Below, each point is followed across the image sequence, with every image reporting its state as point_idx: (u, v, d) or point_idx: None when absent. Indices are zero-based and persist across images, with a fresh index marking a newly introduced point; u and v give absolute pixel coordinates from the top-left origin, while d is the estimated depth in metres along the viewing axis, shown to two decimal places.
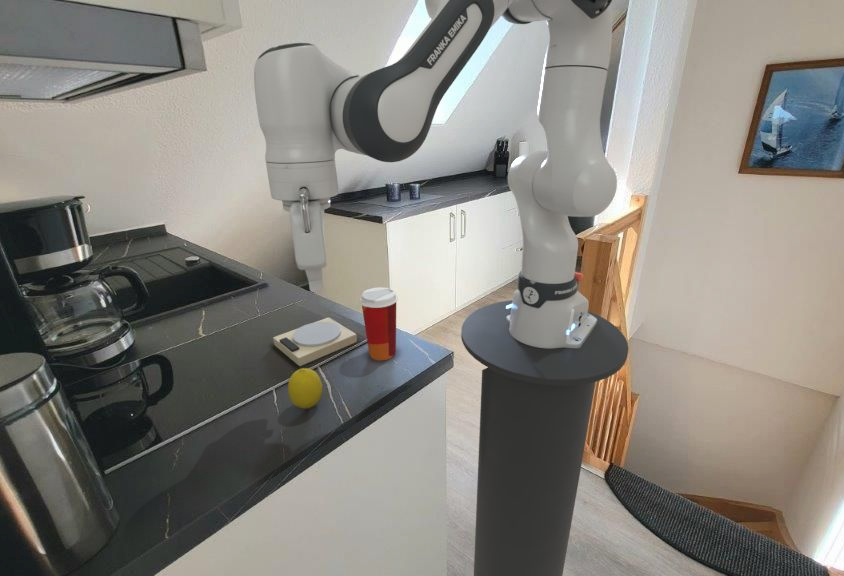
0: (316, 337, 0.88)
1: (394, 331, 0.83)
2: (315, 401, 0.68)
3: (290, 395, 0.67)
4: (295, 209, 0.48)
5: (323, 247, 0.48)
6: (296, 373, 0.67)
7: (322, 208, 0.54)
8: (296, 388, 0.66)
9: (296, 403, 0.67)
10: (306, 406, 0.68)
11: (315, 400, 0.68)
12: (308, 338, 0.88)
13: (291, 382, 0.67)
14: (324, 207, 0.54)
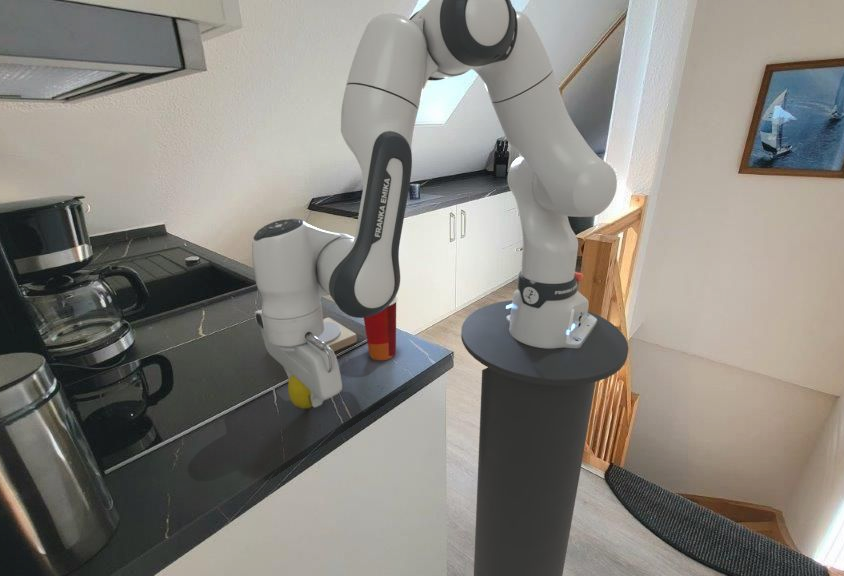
0: None
1: (394, 331, 0.83)
2: None
3: (290, 395, 0.67)
4: (315, 356, 0.59)
5: (340, 378, 0.61)
6: None
7: None
8: (296, 388, 0.66)
9: (296, 403, 0.67)
10: (306, 406, 0.68)
11: None
12: None
13: (291, 382, 0.67)
14: None
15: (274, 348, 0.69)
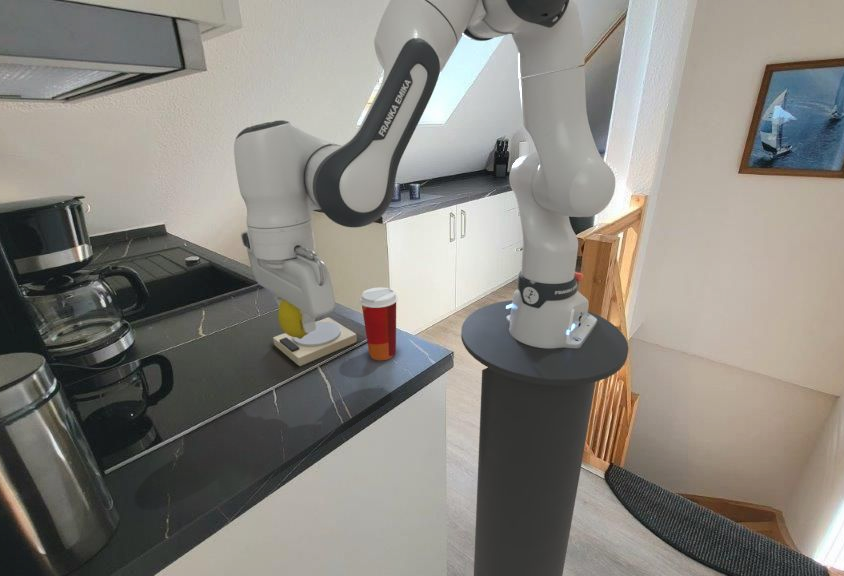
0: (316, 337, 0.88)
1: (394, 331, 0.83)
2: None
3: (280, 321, 0.63)
4: (305, 267, 0.54)
5: (333, 294, 0.57)
6: None
7: None
8: (287, 313, 0.62)
9: (287, 330, 0.63)
10: (298, 333, 0.63)
11: None
12: (308, 338, 0.88)
13: (281, 307, 0.62)
14: None
15: (263, 274, 0.65)
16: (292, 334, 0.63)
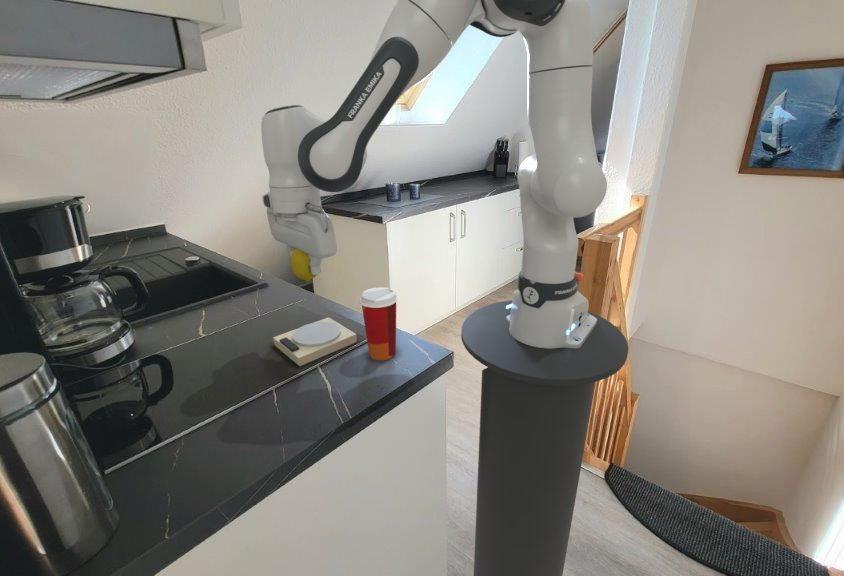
0: (316, 337, 0.88)
1: (394, 331, 0.83)
2: None
3: (293, 266, 0.79)
4: (314, 217, 0.71)
5: (335, 241, 0.73)
6: None
7: None
8: (298, 258, 0.78)
9: (298, 272, 0.79)
10: (306, 276, 0.79)
11: None
12: (308, 338, 0.88)
13: (294, 254, 0.79)
14: None
15: (279, 229, 0.81)
16: (302, 276, 0.80)
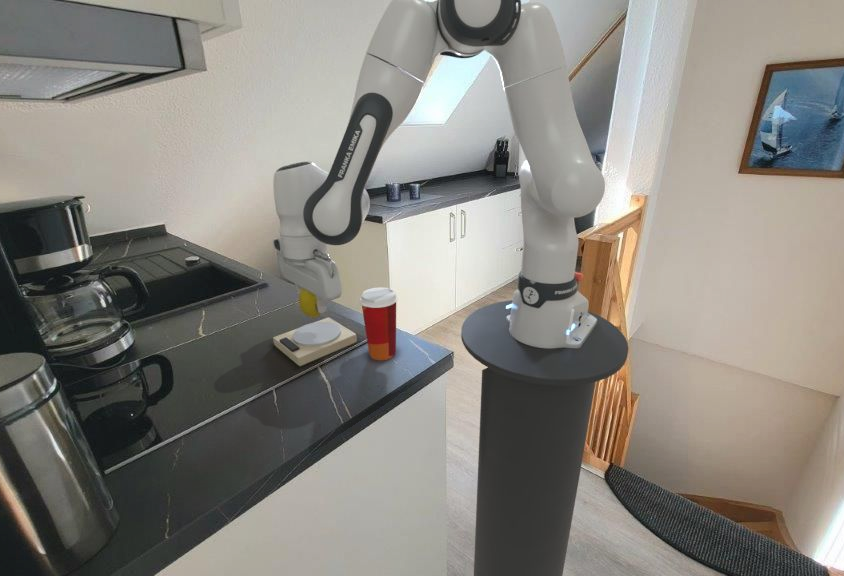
0: (316, 337, 0.88)
1: (394, 331, 0.83)
2: None
3: (300, 304, 0.85)
4: (321, 264, 0.77)
5: (340, 284, 0.79)
6: None
7: None
8: (305, 298, 0.84)
9: (305, 311, 0.85)
10: (313, 314, 0.86)
11: None
12: (308, 338, 0.88)
13: (302, 294, 0.85)
14: None
15: (288, 269, 0.88)
16: (309, 314, 0.86)
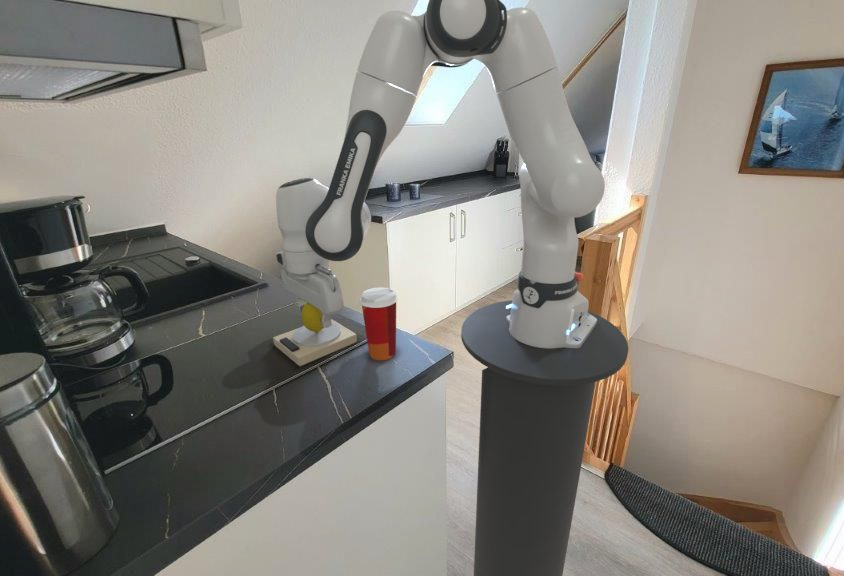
0: (316, 337, 0.88)
1: (394, 331, 0.83)
2: None
3: (303, 320, 0.87)
4: (323, 279, 0.78)
5: (342, 298, 0.80)
6: (308, 303, 0.87)
7: None
8: (308, 314, 0.86)
9: (308, 326, 0.87)
10: (315, 329, 0.87)
11: None
12: (308, 338, 0.88)
13: (304, 309, 0.86)
14: None
15: (290, 282, 0.89)
16: (311, 329, 0.87)
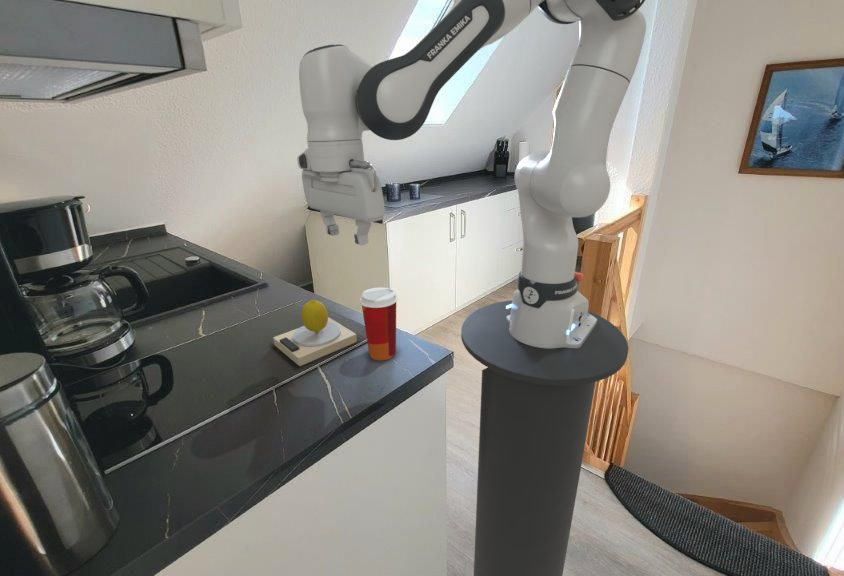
0: (316, 337, 0.88)
1: (394, 331, 0.83)
2: (322, 325, 0.88)
3: (303, 320, 0.87)
4: (360, 174, 0.62)
5: (383, 202, 0.64)
6: (308, 303, 0.87)
7: None
8: (308, 314, 0.86)
9: (308, 326, 0.87)
10: (315, 329, 0.87)
11: (322, 324, 0.87)
12: (308, 338, 0.88)
13: (304, 309, 0.86)
14: None
15: (315, 195, 0.72)
16: (311, 329, 0.87)
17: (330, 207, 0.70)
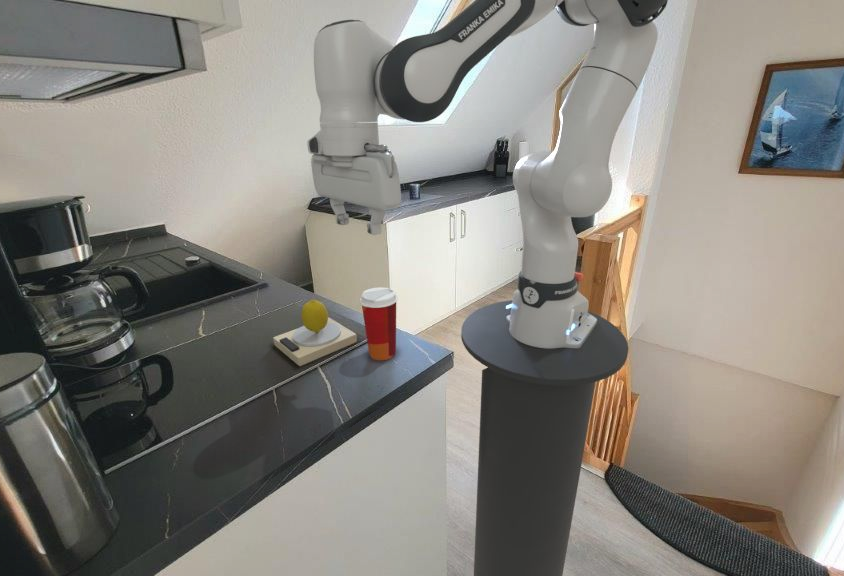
0: (316, 337, 0.88)
1: (394, 331, 0.83)
2: (322, 325, 0.88)
3: (303, 320, 0.87)
4: (377, 158, 0.58)
5: (400, 189, 0.60)
6: (308, 303, 0.87)
7: None
8: (308, 314, 0.86)
9: (308, 326, 0.87)
10: (315, 329, 0.87)
11: (322, 324, 0.87)
12: (308, 338, 0.88)
13: (304, 309, 0.86)
14: None
15: (325, 181, 0.69)
16: (311, 329, 0.87)
17: (341, 194, 0.66)
